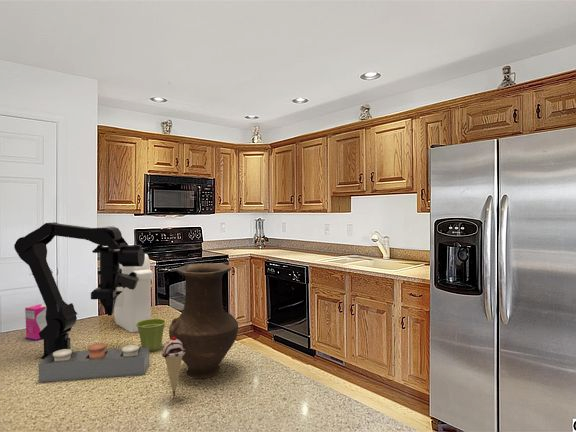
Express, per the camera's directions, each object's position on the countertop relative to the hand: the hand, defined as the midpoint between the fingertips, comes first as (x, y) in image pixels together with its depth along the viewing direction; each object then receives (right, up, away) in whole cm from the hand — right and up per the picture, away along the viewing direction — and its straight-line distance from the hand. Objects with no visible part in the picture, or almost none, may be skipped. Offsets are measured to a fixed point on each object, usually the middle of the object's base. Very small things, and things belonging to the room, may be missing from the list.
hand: (110, 315), depth 123 cm
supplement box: (-34, -13, +16) cm, 39 cm away
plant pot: (+11, -13, +5) cm, 18 cm away
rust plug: (+2, -11, -14) cm, 18 cm away
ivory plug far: (+11, -13, -12) cm, 21 cm away
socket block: (+2, -13, -14) cm, 19 cm away
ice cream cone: (+29, -13, -28) cm, 42 cm away
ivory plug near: (-6, -13, -15) cm, 21 cm away
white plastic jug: (-6, -12, +30) cm, 33 cm away
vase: (+33, -13, -13) cm, 38 cm away
